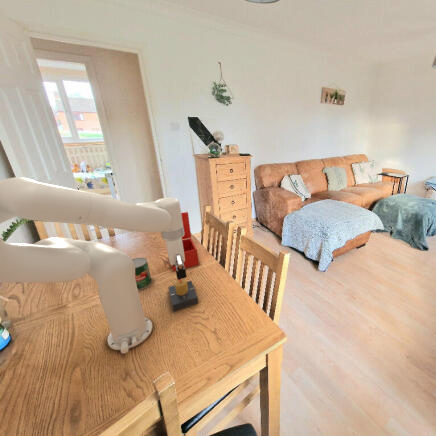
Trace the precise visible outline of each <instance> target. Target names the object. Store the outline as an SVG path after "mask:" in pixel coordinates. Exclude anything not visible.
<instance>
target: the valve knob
mask: <svg viewBox="0 0 436 436" xmlns="http://www.w3.org/2000/svg"><path fill="white" fill-rule="evenodd" d="M187 282H188V281H187V279H185V278H183V279H179V280H178V279H177V281H175V282H174V285H175V288H176V294H177V295H180V296H181V295H185V294H186V293H187V292H188V285H187Z"/></svg>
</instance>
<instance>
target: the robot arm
mask: <svg viewBox="0 0 436 436" xmlns="http://www.w3.org/2000/svg"><path fill="white" fill-rule="evenodd" d="M181 213H182V210H181V204H180V201H179V199H177V198H176V197H163V198H162V197H161V198H159V199H157V200H153V201H145V202H139V203H136V204H135V203H131V202H127V201H124V200H121V199H118V198H115V197H112V196H110V195H105V194H101V193H97V192H91V191H86V190H80V189H75V188H69V187H64V186H59V185H54V184H49V183H44V182H39V181H36V180H34V179H31V178H27V177H23V176H22V177H21V176H20V177H18V176H17V177H16V176H15V177H8V178H4V179H1V180H0V224H2V223H5V222H7V221H9V220H11V219H14V218H15V217H17V218H20V219H24V220H29V221H37V222H49V223H62V224H71V225H72V224H74V225H84V226H85V225H86V226H96V227H100V228H107V229H116V230H124V231H130V232H136V233H150V234H151V233H152V234H159V233H160V236H161V239H162V240H163V241H165V247H166V252H167V258H168V261H169V264H170V265H171V266H172V265H173V266H176V271H175V275H176V278H177V279H176V280H177V281H178V280H179V279H186V278H187V277H188V276H187V271H186V268H185V267H184V263H183V262H185V256H184V249H183V242H182V240H183V239H182V237H183V236H184V227H183V221H182V215H181ZM132 259H133V258H131V257H130V256H129V255H128V254H127V253H125V252H123V251H121V250H120V249H117V248H115V247H112V246H110V245H109V244H106V243H103V242H99V241H90V240H82V239H75V238H65V237H48V238H44V239H40V240H38V241H36V242H34V243H33V244H31V243H22V242H21V243H20V242H15V243H14V242H13V243H12V242H7V241H4V239H2V236H0V283H1V284H2V283H19V284H22V283H23V284H29V283H31V284H33V283H34V284H36V283H37V284H39V283H41V284H42V283H49V284H50V283H51V284H52V283H53V284H54V283H55V284H57V283H58V284H59V283H62V284H63V283H73V282H75V281H79V280H81V279H82V278H85V277H86V276H87V275H88V276H89V277H91V278H92V279H93V280H94V281H95V282H96V284H97V287H98V291H97V292H98V293H97V294H98V299H99V301H100V305H101V307H102V310H103V314H104V316H105V319H106V321H107V325H108V327H109V330H110V332H109V334H108V336H107V339H106V341H107V345H108V347H109V348H110V349H112V350H115V351H120V353H121V354H127V353H128V352H129V349H131V348H134V347H137V346H138V345H141V343H143V342H144V341H145V340H146V339H147V338H148V337H150V335H151V334H152V331H153V329H154V328H153V326H154V325H153V322H152V320H151V319H149V318H147V317H145V312H144V309H143V305H142V300H141V296H140V293H139V290H138V289H137V285H136V280H135V265H134V262H133V260H132ZM177 266H178V267H177Z"/></svg>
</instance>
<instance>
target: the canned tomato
mask: <svg viewBox="0 0 436 436" xmlns="http://www.w3.org/2000/svg"><path fill="white" fill-rule="evenodd" d="M131 259H132V260H133V262H134V265H135V280H136V285H137V289H138V291H139V290H143V289H146V288H148V287H149V286H151V284H152V282H153V280H152V276H151V272H150V268H149V263H148V259H147V258H145V257H134V258H131Z"/></svg>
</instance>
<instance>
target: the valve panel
mask: <svg viewBox="0 0 436 436" xmlns="http://www.w3.org/2000/svg"><path fill="white" fill-rule="evenodd" d="M187 285H188V292H187V293H186V294H185V295H181V296H180V295H177V294H176V288H175V284H174V285H171V286H168V287H167V288H168V294H169V298H170V302H171V307H172V311H173V312H176V311H179V310H182V309H185V308H188V307H191V306H194V305H196V304H199V298H198V295H197V292H196V290H195V287H194V284H193V281H192V280H188V281H187Z"/></svg>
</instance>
